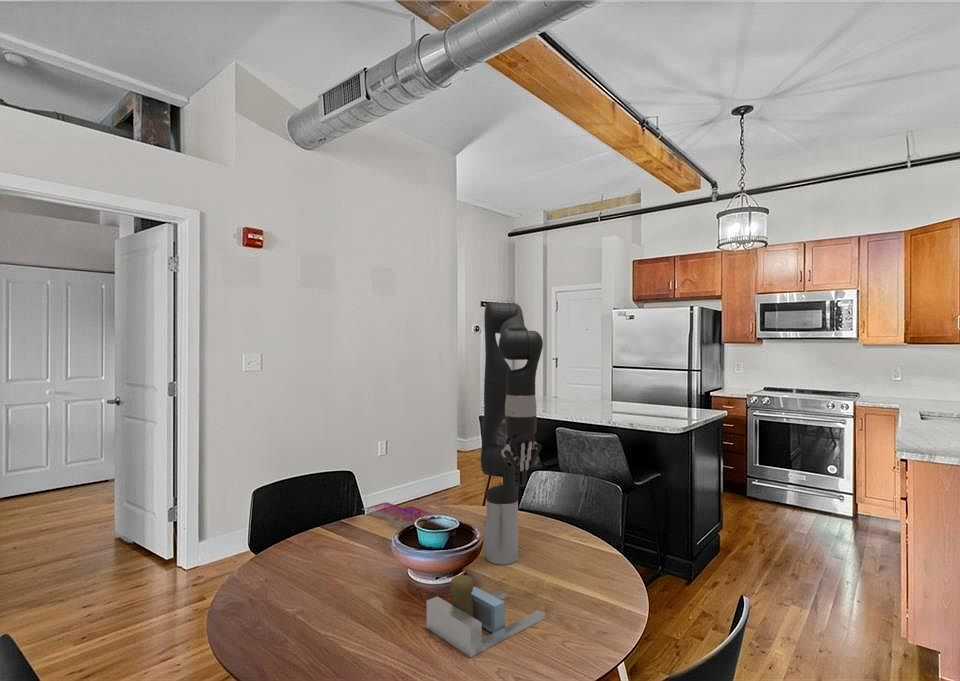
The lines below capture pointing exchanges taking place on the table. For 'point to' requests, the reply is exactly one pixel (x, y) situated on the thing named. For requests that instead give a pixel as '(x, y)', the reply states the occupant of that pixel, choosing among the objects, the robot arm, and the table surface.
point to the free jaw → (488, 610)
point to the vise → (471, 626)
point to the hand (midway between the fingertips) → (520, 485)
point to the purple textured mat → (399, 511)
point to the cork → (462, 593)
